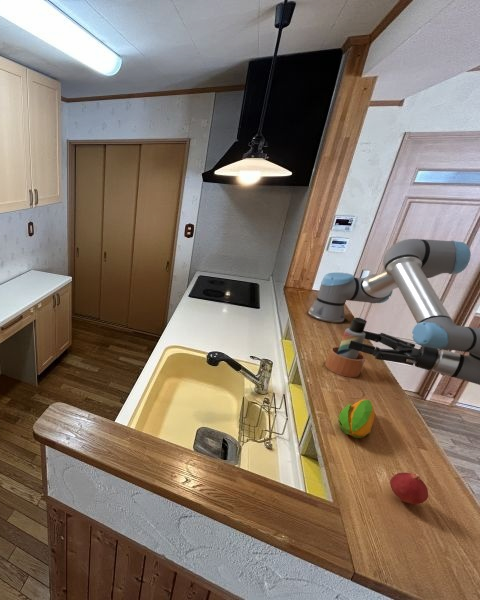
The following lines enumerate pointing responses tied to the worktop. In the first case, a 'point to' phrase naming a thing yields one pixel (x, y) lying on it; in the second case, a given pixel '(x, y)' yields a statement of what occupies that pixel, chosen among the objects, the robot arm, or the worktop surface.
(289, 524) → the worktop surface
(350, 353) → the lotion bottle
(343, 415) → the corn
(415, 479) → the onion
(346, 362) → the bowl
